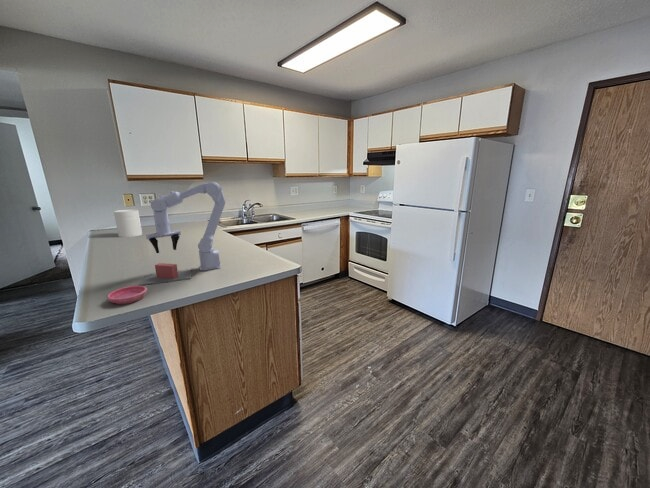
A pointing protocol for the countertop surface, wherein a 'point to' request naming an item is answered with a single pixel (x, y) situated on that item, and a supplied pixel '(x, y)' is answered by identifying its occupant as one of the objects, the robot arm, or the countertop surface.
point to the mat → (154, 279)
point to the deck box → (166, 270)
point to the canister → (128, 223)
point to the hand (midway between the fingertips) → (166, 251)
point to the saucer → (127, 294)
